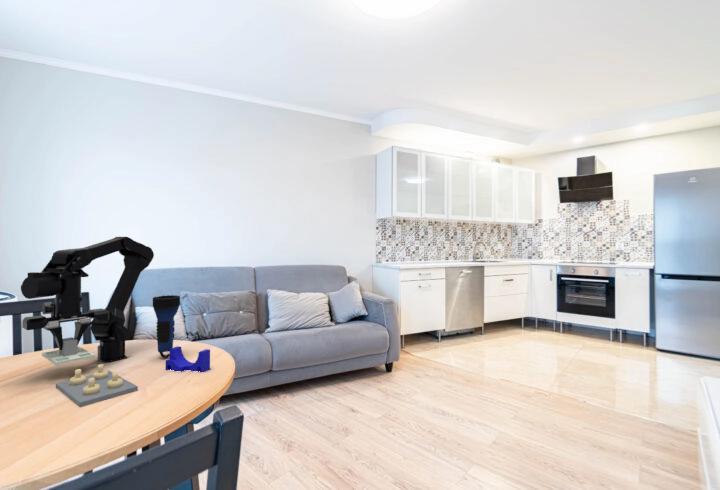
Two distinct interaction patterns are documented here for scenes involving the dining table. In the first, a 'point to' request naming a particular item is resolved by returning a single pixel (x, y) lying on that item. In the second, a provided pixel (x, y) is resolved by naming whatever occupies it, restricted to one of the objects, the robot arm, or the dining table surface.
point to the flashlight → (165, 321)
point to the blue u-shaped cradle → (181, 364)
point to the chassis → (95, 386)
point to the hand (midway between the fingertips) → (68, 348)
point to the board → (67, 358)
